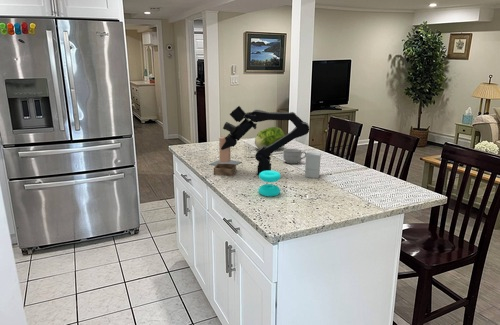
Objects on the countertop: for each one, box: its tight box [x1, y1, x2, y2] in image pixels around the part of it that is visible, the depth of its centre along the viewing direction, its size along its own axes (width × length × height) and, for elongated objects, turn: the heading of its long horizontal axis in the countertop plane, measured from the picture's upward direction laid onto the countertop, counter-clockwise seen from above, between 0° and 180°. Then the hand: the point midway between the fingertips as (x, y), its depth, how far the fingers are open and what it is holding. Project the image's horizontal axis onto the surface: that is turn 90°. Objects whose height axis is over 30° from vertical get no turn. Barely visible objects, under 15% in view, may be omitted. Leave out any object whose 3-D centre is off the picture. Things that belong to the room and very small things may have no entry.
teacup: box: [282, 148, 307, 165], centre depth 224 cm, size 14×11×8 cm
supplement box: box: [304, 150, 322, 179], centre depth 199 cm, size 7×7×13 cm
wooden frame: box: [213, 163, 237, 177], centre depth 203 cm, size 10×10×4 cm
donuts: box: [258, 169, 282, 197], centre depth 172 cm, size 10×10×10 cm
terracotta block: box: [218, 135, 231, 163], centre depth 201 cm, size 5×5×13 cm
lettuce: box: [254, 126, 286, 149], centre depth 255 cm, size 16×21×15 cm
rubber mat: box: [209, 159, 243, 167], centre depth 221 cm, size 14×14×1 cm
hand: (222, 148), depth 201 cm, fingers closed on terracotta block, 5 cm apart
